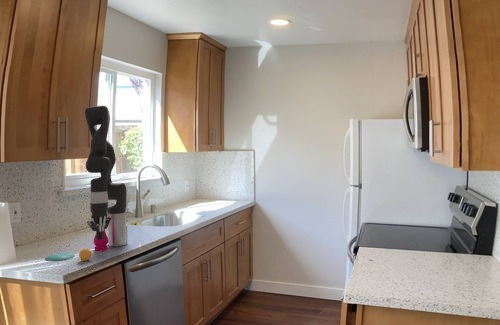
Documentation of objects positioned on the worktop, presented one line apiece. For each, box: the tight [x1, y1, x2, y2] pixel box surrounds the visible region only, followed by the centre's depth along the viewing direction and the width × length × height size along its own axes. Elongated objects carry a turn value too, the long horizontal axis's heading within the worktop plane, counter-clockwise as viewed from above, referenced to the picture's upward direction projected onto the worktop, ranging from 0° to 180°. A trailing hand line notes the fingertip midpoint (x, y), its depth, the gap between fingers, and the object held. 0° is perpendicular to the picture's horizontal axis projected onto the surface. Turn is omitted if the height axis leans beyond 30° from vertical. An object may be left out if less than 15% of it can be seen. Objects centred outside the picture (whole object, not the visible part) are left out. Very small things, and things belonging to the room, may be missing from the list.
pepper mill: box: [92, 229, 109, 252], centre depth 209 cm, size 7×7×20 cm
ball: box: [78, 248, 93, 262], centre depth 190 cm, size 6×6×6 cm
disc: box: [44, 252, 75, 262], centre depth 197 cm, size 13×13×1 cm
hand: (99, 239), depth 186 cm, fingers closed
